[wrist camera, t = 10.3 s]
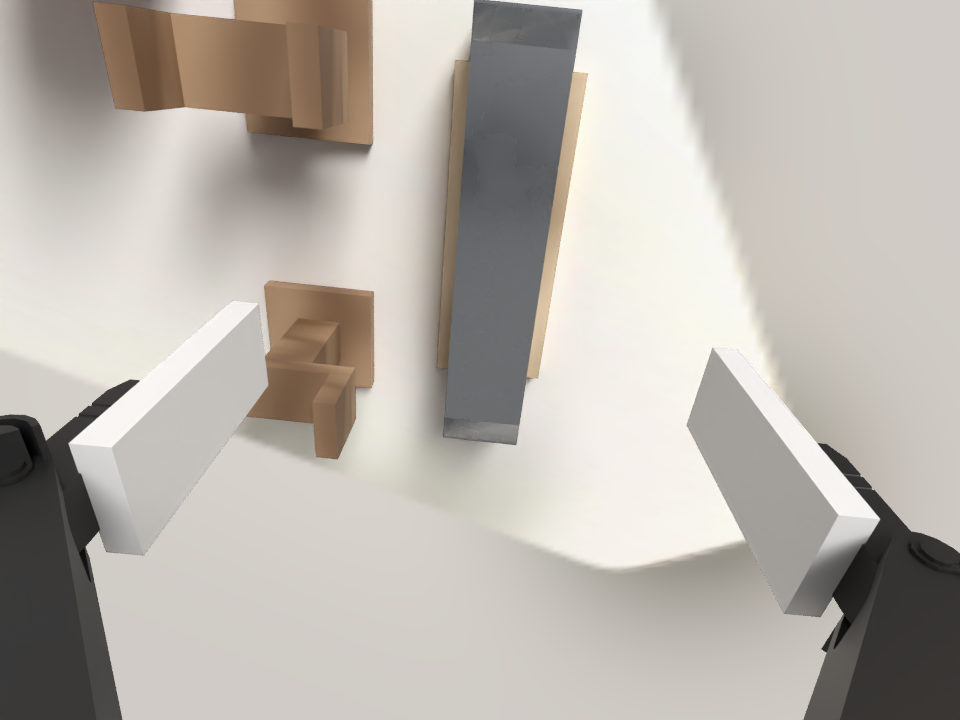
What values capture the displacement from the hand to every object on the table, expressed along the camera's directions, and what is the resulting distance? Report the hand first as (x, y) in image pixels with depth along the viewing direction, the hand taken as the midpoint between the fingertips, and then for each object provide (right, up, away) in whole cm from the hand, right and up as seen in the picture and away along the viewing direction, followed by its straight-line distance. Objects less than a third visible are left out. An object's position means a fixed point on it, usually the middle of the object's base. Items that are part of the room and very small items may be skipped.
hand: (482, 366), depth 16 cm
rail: (+1, +6, +12) cm, 14 cm away
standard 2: (-8, +14, +10) cm, 19 cm away
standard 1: (-9, +2, +17) cm, 19 cm away
